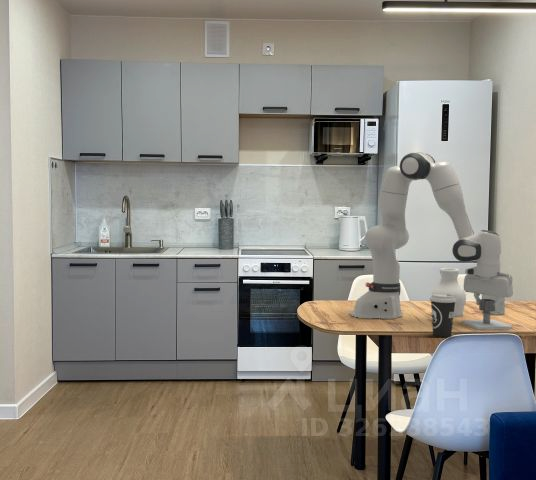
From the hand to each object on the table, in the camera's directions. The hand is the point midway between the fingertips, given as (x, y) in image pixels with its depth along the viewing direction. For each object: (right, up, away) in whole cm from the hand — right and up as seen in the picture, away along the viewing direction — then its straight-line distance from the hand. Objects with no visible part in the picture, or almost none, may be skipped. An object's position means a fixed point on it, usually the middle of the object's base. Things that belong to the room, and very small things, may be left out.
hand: (487, 306), depth 257 cm
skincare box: (+12, -6, +29) cm, 32 cm away
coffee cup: (-23, -9, -18) cm, 30 cm away
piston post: (0, -8, +1) cm, 8 cm away
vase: (-9, -7, +25) cm, 27 cm away
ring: (0, -2, 0) cm, 2 cm away
